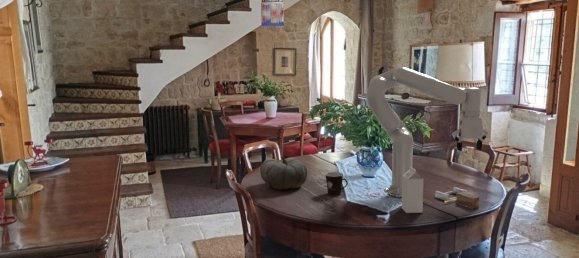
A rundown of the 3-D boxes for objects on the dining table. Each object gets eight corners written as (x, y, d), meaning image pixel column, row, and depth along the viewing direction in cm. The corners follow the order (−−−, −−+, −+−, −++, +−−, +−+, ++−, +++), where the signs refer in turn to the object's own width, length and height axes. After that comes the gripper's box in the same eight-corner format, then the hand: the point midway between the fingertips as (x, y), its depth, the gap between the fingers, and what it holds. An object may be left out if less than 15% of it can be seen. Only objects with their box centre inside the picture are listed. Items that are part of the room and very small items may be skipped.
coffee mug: (322, 192, 220) (322, 173, 218) (338, 190, 223) (338, 171, 221) (333, 199, 209) (333, 178, 208) (349, 196, 212) (349, 176, 211)
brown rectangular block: (472, 209, 192) (472, 198, 192) (456, 203, 200) (456, 192, 200) (478, 207, 194) (479, 197, 193) (462, 202, 202) (463, 191, 201)
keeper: (447, 201, 203) (448, 195, 202) (434, 196, 210) (434, 190, 209) (467, 197, 208) (467, 191, 208) (454, 192, 216) (454, 186, 215)
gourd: (248, 181, 231) (254, 150, 229) (282, 180, 249) (287, 150, 247) (280, 196, 214) (287, 162, 212) (314, 193, 232) (320, 161, 230)
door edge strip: (445, 204, 199) (445, 201, 199) (444, 203, 200) (444, 201, 200) (473, 197, 207) (473, 195, 207) (471, 197, 208) (471, 195, 208)
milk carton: (417, 207, 195) (418, 166, 192) (422, 213, 188) (423, 170, 185) (401, 207, 195) (402, 166, 192) (406, 213, 188) (407, 170, 185)
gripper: (457, 115, 200) (455, 152, 202) (493, 114, 201) (490, 150, 204) (449, 113, 207) (448, 149, 210) (484, 112, 209) (482, 147, 211)
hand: (469, 149), depth 207 cm, fingers open, 9 cm apart
